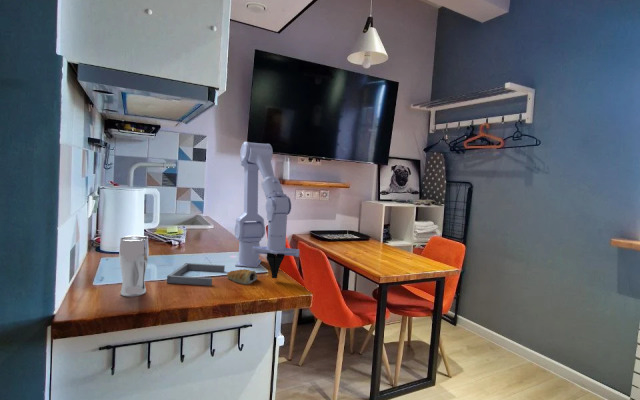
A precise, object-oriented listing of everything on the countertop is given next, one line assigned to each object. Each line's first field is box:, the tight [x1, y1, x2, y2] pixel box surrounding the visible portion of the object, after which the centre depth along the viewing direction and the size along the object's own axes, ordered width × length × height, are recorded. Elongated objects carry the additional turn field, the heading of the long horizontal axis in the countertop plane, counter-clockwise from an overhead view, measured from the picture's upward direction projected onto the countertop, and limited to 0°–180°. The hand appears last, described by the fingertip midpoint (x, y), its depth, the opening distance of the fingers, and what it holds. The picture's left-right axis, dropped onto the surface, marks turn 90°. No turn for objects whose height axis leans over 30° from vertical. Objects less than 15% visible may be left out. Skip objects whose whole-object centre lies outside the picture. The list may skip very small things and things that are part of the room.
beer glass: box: [118, 235, 150, 298], centre depth 97 cm, size 7×7×15 cm
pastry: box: [226, 268, 258, 285], centre depth 114 cm, size 9×7×4 cm
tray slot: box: [166, 262, 225, 287], centre depth 115 cm, size 15×13×2 cm
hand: (274, 277), depth 115 cm, fingers closed
